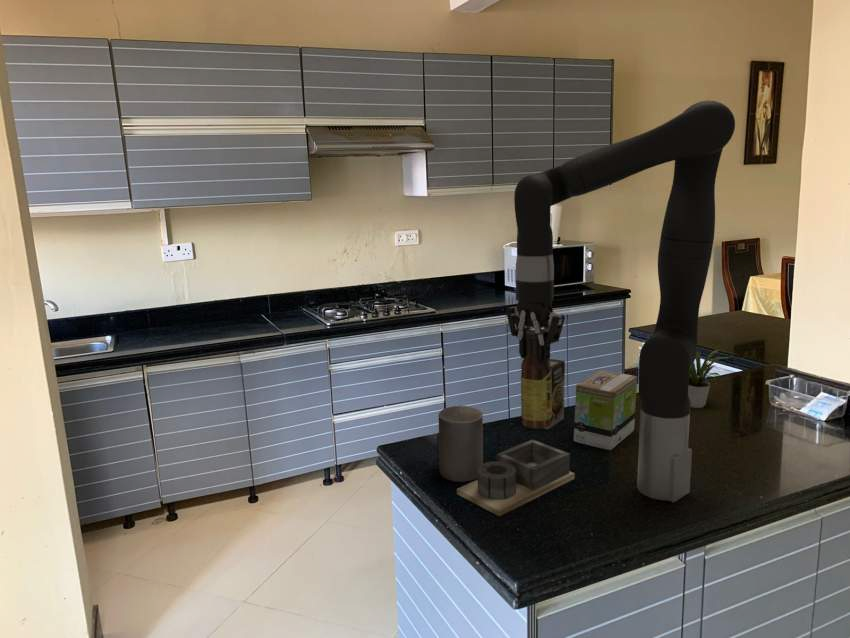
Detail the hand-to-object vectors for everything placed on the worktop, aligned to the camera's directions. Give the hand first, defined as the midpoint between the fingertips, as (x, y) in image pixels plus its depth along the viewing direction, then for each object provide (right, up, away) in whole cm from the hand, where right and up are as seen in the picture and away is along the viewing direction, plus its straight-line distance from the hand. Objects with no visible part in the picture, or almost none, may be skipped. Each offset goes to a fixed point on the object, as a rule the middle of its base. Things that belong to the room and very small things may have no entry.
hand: (534, 359), depth 132 cm
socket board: (-3, -27, +3) cm, 27 cm away
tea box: (+22, -21, +27) cm, 40 cm away
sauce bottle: (+1, -14, +3) cm, 14 cm away
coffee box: (+9, -19, +37) cm, 42 cm away
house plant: (+54, -16, +46) cm, 72 cm away
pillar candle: (-14, -26, +10) cm, 31 cm away
